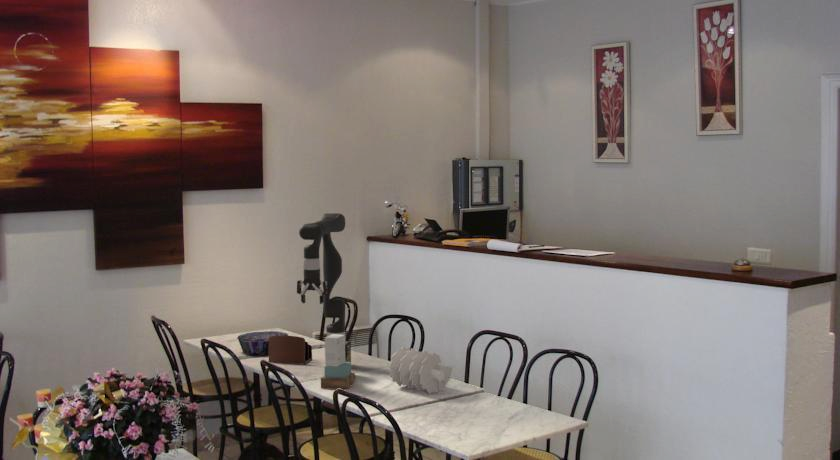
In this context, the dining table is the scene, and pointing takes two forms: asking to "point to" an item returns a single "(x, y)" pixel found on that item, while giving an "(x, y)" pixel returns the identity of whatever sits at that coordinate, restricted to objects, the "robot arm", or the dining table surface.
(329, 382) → the tower bottom block
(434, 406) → the dining table surface
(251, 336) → the decorative bowl
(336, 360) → the small box
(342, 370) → the tower top block
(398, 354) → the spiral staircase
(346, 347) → the coffee box
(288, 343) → the letter holder
